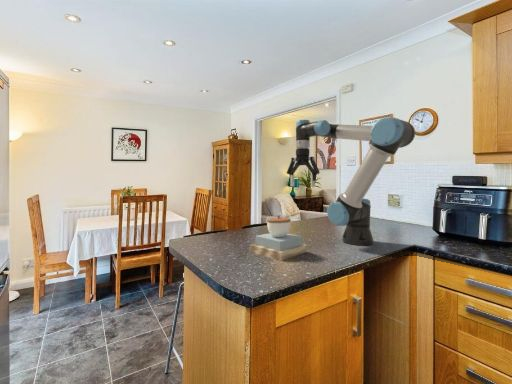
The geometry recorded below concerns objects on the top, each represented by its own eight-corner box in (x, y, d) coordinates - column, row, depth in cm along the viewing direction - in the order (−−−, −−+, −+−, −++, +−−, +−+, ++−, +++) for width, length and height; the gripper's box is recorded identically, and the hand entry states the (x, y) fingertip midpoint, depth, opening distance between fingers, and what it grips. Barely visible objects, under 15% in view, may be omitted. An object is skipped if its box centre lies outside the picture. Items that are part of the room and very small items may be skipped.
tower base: (306, 253, 124) (306, 244, 124) (281, 262, 111) (281, 252, 111) (275, 246, 137) (275, 238, 137) (250, 253, 124) (250, 245, 124)
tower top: (302, 245, 123) (302, 236, 123) (279, 251, 113) (279, 241, 113) (277, 239, 134) (277, 231, 134) (255, 244, 124) (255, 235, 124)
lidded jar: (263, 235, 127) (262, 214, 126) (283, 232, 131) (283, 213, 130) (273, 239, 117) (272, 217, 116) (295, 236, 121) (294, 215, 120)
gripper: (280, 149, 159) (280, 186, 160) (318, 146, 141) (318, 187, 143) (288, 150, 164) (288, 185, 165) (326, 147, 147) (325, 186, 148)
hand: (302, 186), depth 154 cm, fingers open, 13 cm apart
